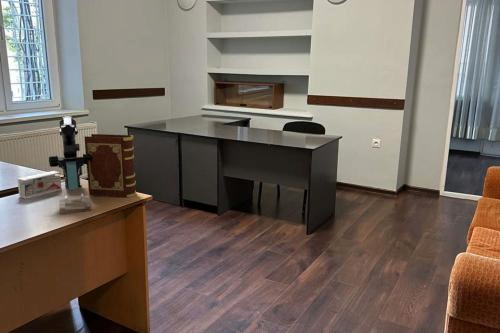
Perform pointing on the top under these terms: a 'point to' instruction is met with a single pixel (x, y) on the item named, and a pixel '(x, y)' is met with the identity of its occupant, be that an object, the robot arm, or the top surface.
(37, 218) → the top surface
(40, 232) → the top surface
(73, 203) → the book stand
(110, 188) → the decorative book
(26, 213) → the top surface
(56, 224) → the top surface
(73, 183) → the teal rectangular block
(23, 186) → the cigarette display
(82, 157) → the robot arm
